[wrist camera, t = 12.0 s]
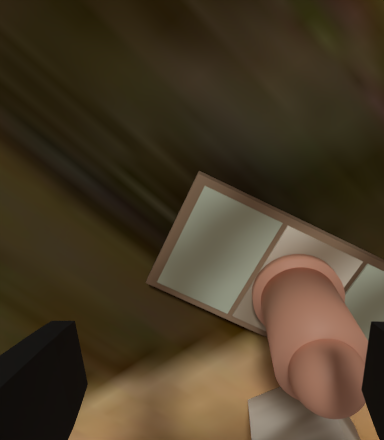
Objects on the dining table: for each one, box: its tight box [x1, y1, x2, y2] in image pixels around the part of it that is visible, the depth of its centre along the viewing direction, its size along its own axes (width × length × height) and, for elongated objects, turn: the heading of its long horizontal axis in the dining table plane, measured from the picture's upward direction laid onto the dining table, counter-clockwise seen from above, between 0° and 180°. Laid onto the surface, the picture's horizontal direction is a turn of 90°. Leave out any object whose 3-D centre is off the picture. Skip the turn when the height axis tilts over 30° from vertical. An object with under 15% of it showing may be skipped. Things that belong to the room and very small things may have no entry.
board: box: [146, 171, 384, 340], centre depth 18 cm, size 19×7×1 cm, turn 65°
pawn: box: [252, 254, 368, 419], centre depth 14 cm, size 5×5×7 cm
